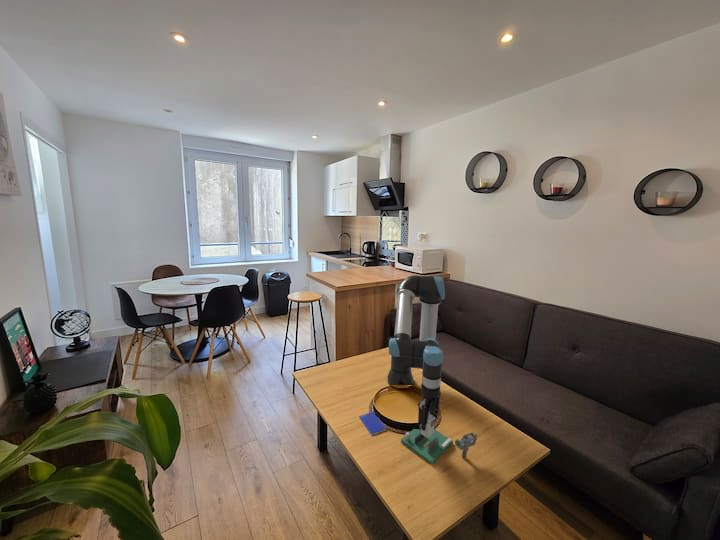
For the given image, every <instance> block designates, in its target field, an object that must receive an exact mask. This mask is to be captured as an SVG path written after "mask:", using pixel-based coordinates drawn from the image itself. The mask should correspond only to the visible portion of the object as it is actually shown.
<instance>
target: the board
mask: <svg viewBox="0 0 720 540" xmlns="http://www.w3.org/2000/svg"><path fill="white" fill-rule="evenodd" d="M420 433H421V424H420V425H419V429H414V428H413V429H412V430H411V431H410V432H409V431H407V432H405V436H404V437H402V438H401V439H400V442H401V443H402V444H403V445H404V446H405V447H407V448H409V449H410V451H411V452H412V451H413V453H414V454H416V455H418V456H419V457H420V458H421V459H423V460H424V461H426V462H427V463H428V464H429V465H431V466H433V465H434V464H435V463H436V462H437V461H438V460H439V459H440V458H441V457H442V456H443V454H445V453H446V452H447V450H449V448H450V447H452V446H453V444H454V440H452V439H451V438H450V437H448V436H446V435H444V434H443V433H441V432H440V431H438V430H436V429H435V428H434V433H433V434H432V435H431V436H430V437H429V438H428V437H423V438H422V439H421V440H420V441H419V442H418V443H417V444H415V437H416V436H418V435H419V434H420ZM437 436H438V437H439V445H438V446H437V447H436V448H435V449H434V450H433V451H432V452H431V453H430V454H429V453H428V445H429V444H430V443H431V442H432V441H433V440H434V439H435V438H436V437H437ZM428 441H429V443H428ZM426 442H427V443H428V444H427V445H425V447H424V446H423V445H424V444H425V443H426Z"/></svg>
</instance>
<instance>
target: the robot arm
mask: <svg viewBox="0 0 720 540" xmlns="http://www.w3.org/2000/svg"><path fill="white" fill-rule="evenodd" d="M395 297H396V299H397V304H396V316H395V325H394V326H395V327H394V336H393V338H392V337H391V338H389V342H388V354H389V356H391V358H390V369H389V371H388V374H387V378H386V379H387V380H386V381H387V384H388V385H389V386H391V385H412V386H413V385H414V376H413V372H412V369H421V370H422V371H421V372H422V373H421V377H422V378H421V385H420V387H421V388H420V391H421V394H422V399H421V400H422V401H421V402H418V403H417V407H418V413H417V414H418V416H417V424H418V423H420V424H421V434H422V435H423V436H425V437H427V433H428V423H427V421H428V416H429V414H431V415H433V416H434V417H435V419H437V418H438V414H439V409H440V399H441V395H442V393H441V386H442V385H441V383H442V382H441V381H442V369H443V361H444V357H443V356H444V352H443V350H442V349H441V347H440V344H439V342H438V341H437V340H436V339H437V338H436V336H437V323H438V312H439V305H440V304H442V300H445V298H446V289H445V281H444V278H443V277H441V276H435V275H434V276H433V275H417V274H415V275H413V274H412V275H409V276H408V277H406V278H403V280H402V281H401V282H400V283H399V285H398V287H397V289H396V294H395ZM415 298H418V299H419V303H421V309H420V310H421V313H420V325H419V326H420V327H419V328H420V329H419V340H415V339H412V321H413V301H414V300H415Z"/></svg>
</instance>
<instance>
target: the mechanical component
mask: <svg viewBox="0 0 720 540" xmlns="http://www.w3.org/2000/svg"><path fill="white" fill-rule="evenodd" d="M477 441H478V435H477V434H476V433H474V432H469V433H466V434H463V435H462V437H461V439H456V440H455V441H454V444H455V446H456V447H457V448H458V449H459V450H460V451H462V455H461V457H462V458H463V460H466V459H467V456H468V455H467V454H468V452H469V448H470V447H473V446H476V444H477Z"/></svg>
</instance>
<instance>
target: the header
mask: <svg viewBox="0 0 720 540" xmlns="http://www.w3.org/2000/svg"><path fill="white" fill-rule="evenodd" d="M423 437H425V436H423V435H422V434H421V433H420V434H419V435H418V436H416V437H415V444H417V443H418V442H419V441H420V440H421V439H422V438H423ZM428 443H429V441H428ZM428 443H427V442H426V443H425V444H424V445H423V446H424V447H425V445H427V444H428ZM438 445H439V437H438V436H437V437H436V438H435V439H434V440H433V441H432V442H431V443H430V444H429V445H428V453H429V454H430V453H431V452H432V451H433V450H434V449H435V448H436V447H437V446H438Z"/></svg>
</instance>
